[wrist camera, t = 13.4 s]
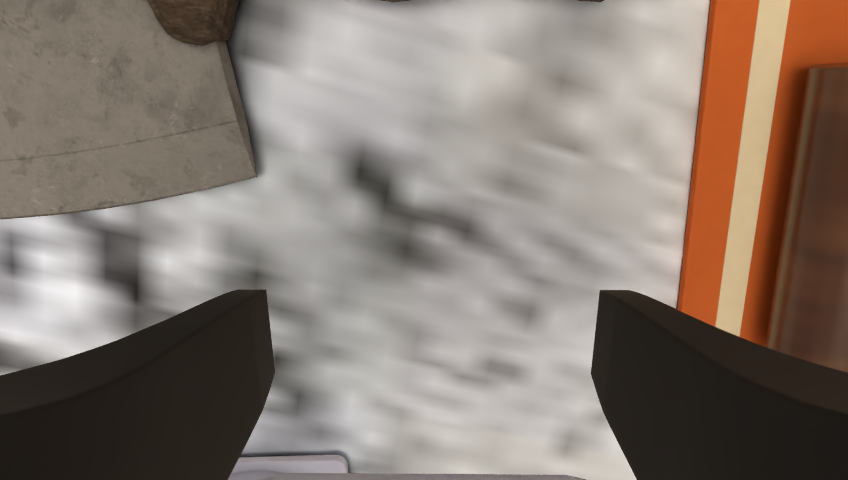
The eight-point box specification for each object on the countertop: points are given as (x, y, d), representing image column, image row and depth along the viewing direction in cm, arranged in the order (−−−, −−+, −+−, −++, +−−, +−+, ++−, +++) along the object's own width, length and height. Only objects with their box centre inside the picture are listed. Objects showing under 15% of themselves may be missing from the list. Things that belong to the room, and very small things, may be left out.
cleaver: (609, -194, 16) (632, -230, 14) (620, 131, 19) (641, 139, 17) (-262, -28, 18) (-349, -39, 16) (-128, 240, 21) (-187, 258, 19)
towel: (919, 432, 23) (927, 439, 23) (662, 440, 24) (666, 447, 23) (1072, -95, 17) (1088, -99, 16) (718, -73, 17) (725, -77, 17)
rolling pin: (817, 343, 22) (909, 393, 18) (740, 357, 21) (820, 411, 18) (871, 59, 18) (997, 57, 15) (780, 67, 18) (890, 66, 14)
